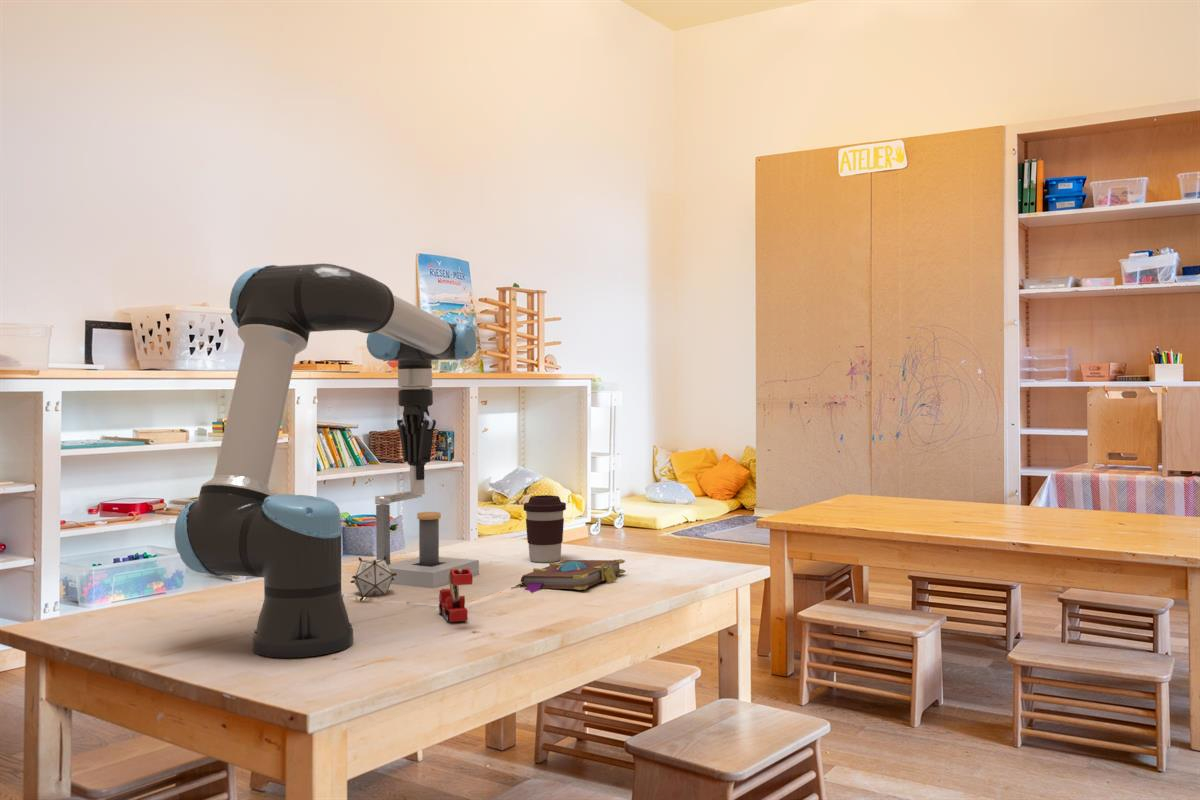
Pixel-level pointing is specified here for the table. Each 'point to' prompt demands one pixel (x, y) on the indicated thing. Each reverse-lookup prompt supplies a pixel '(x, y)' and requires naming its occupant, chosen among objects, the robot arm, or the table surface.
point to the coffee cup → (544, 527)
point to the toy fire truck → (455, 596)
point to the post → (383, 532)
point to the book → (572, 574)
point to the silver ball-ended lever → (395, 497)
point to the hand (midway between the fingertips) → (417, 494)
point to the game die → (373, 577)
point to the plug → (429, 538)
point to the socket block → (429, 571)
